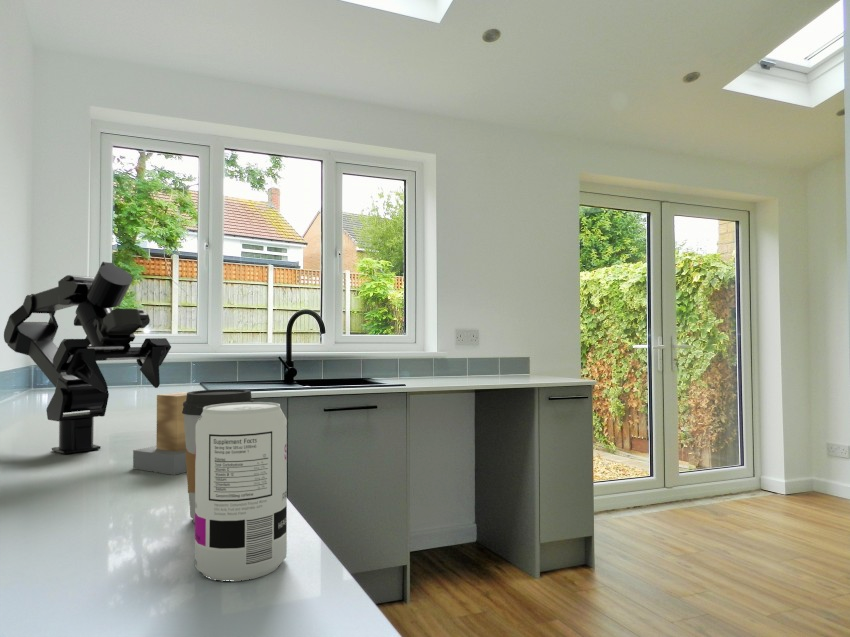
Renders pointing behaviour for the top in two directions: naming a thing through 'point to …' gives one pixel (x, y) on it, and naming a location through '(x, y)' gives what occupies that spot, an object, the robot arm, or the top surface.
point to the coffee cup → (191, 416)
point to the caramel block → (170, 422)
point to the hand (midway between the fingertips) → (132, 388)
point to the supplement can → (240, 490)
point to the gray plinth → (159, 460)
